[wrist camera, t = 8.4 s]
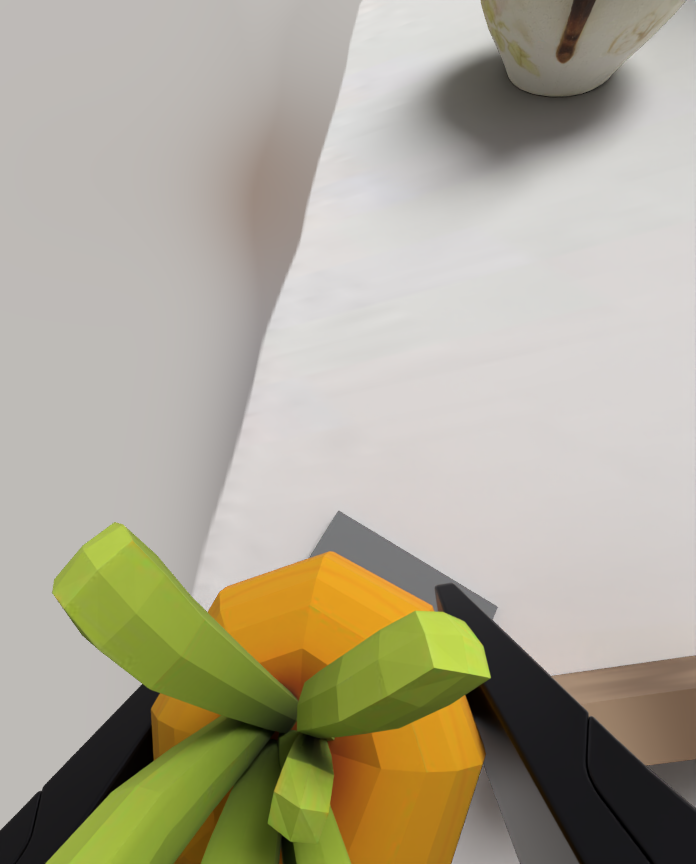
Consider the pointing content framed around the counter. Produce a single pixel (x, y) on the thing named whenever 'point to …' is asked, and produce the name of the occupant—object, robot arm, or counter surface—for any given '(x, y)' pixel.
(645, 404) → the counter surface
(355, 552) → the charcoal mat
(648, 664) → the walnut block
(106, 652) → the carrot
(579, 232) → the counter surface
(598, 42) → the sugar bowl
